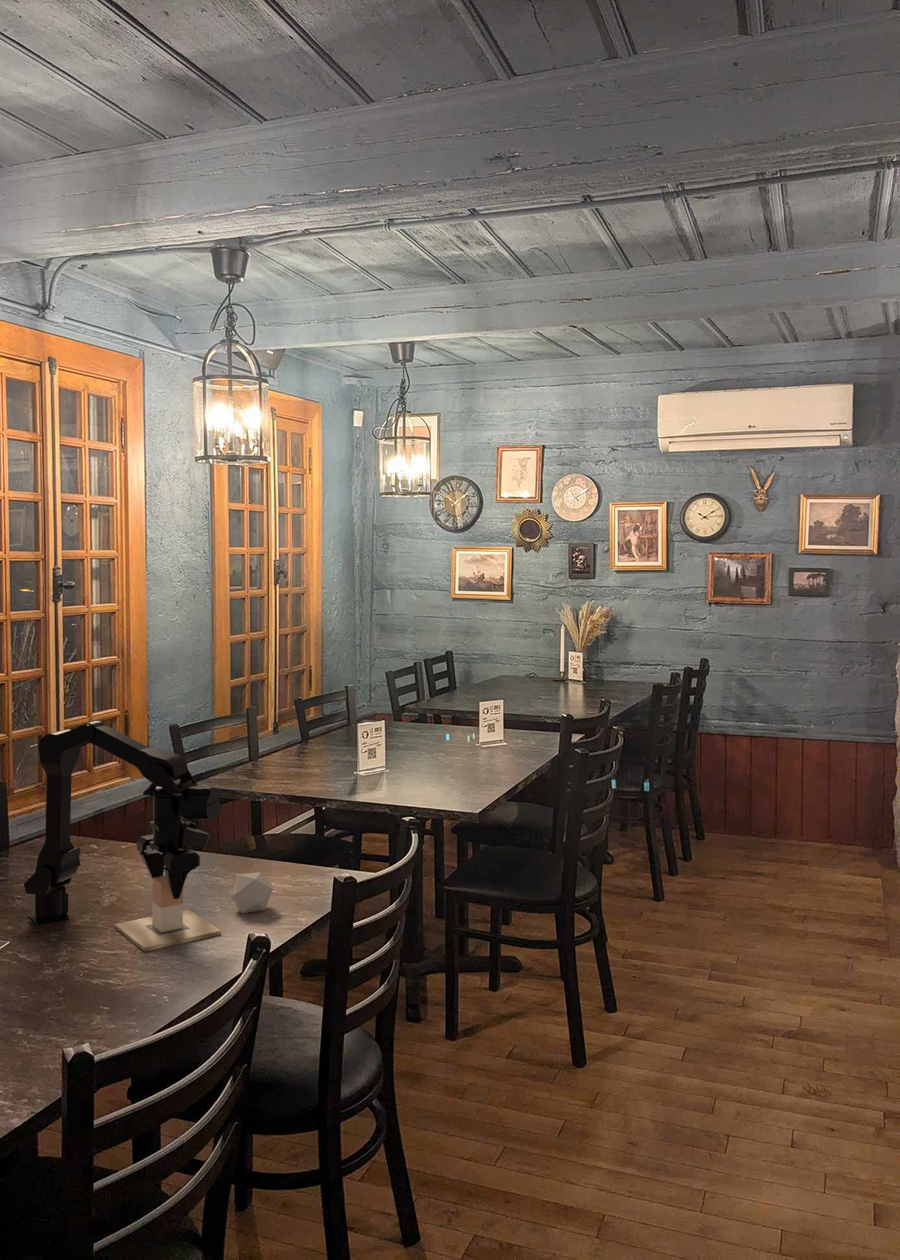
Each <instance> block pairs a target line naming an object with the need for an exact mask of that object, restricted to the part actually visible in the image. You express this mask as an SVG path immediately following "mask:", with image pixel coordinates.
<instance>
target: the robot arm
mask: <svg viewBox="0 0 900 1260" xmlns="http://www.w3.org/2000/svg"><path fill="white" fill-rule="evenodd" d="M37 744H38V745H37V749H38V757H39V758H38V759H39V763H40V765H41V767H42V769H43V770H44V772H45V774H46V778H45V779H46V786H45V787H46V788H45V789H46V790H45V792H46V793H45V827H44V830H45V831H44V834H45V835H44V843H43V845H42V847H41V850H40V852H39V853H38V856H37V858H36V859H37V860H36V865H35V869H34V873H33V874H32V875H31V876H30V877H29V878H28V879H27V880H26V881H25V882H24V883H23V887H24V890H25V892H26V893H25V894H28V895H31V896H30V898H31V899H30V900H31V903H30V904H31V905H30V906H31V907H30V909H31V912H30V913H28V917H29V918H30V919H32V920H33V921H34V922H35V923H36V924H38V925H40V924H44V923H50V922H54V921H59V920H65V919H69V917H70V915H69V914H68V913H69V911H70V910H69V908H70V907H69V893H68V892H67V887H66V885H70V884H71V882H72V880H73V876H75V875H76V874H77V872H78V871H79V870H78V869H79V867H80V866H81V865H82V864H81V860H80V857H81V847H75V846H74V844H73V843H72V841H71V810H72V809H71V808H72V807H71V806H72V801H71V800H72V774H73V771H74V769H75V767H76V765H77V763H78V761H79V759H80V752H81V748H82V747H85V746H87V745H89V744H92V745H93V746H95V747H97V748H99V749H101V750H103V751H104V752H106V753H109V754H110V755H113V756H115V757H116V758H118V759H120V760H122V761H123V762H126V763H128V764H129V765H132V766H134V768H136V769H137V770H138V771H139V773H140V774H141V776H142V777H143V778H145V780H147V781H149V782H150V785H149V787H147V788H146V789H145V790H144V791H143V792H142V794H143V795H144V796H152V820H151V821H149V828H152V834H148V835H147V834H146V835H141V836H139V838H138V839H137V840H136V851H138V853H139V856H140V857H141V859H142V862H143V863H144V865H145V867H146V869H147V871H148V873H149V875H150V878H151V880H152V881H153V878H154V877H160V876H166V878H167V881H168V884H169V887H170V890H171V893H172V896H173V898H174V899H179V898H180V895H181V892H182V889H183V890H184V886H185V882H186V879H187V877H188V875H189V874H190V873H191V871H193V870H196V869H197V868H198V867H200V866H201V856H200V854H198V853H197V852H195V851H194V850H193V849H190V848H189V846H192V847H197V848H200V849H201V850H206V849H207V848H206V847H207V845H208V842H209V840H210V836H211V834H209V833H208V832H206V831H204V830H201V829H199V828H197V824H196V823H194V822H192V821H202V822H214V821H215V820H216V819H217V818H218V815H219V813H220V809H221V808H220V807H221V801H220V800H219V797H218V796H219V795H218V794H217V793H216V789H215V787H214V786H199V785H198V783H197V781H196V779H195V778H194V776H193V775H192V773H191V772H190V770H189V769H188V766H187V764H186V760H185V758H184V757H183V756H182V755H180V754H177V753H175V752H171V751H167V750H162V749H156V748H152V747H149V746H147V745H146V744H145V745H144V744H142V742H139V741H137V740H135V739H134V738H132V737H129V736H127V735H125V734H124V733H121V732H120V731H118V730H116V729H114V728H112V727H110V726H108V725H106V723H105V722H103V721H101V720H93V721H88V722H86V723H83V724H82V725H80V726H78V727H76V728H73V729H62V730H58V731H55V732H50V733H47V734H44V735H43V736H42V737H41V738H39V740H38V743H37ZM177 782H178V783H177ZM183 819H185V820H187V821H186V822H185V821H183ZM188 820H189V821H188ZM190 820H191V821H190ZM164 874H165V875H164Z"/></svg>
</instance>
